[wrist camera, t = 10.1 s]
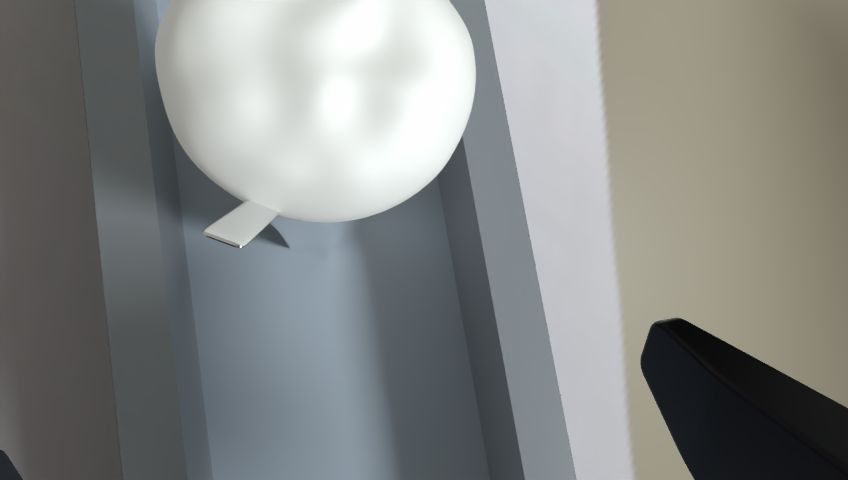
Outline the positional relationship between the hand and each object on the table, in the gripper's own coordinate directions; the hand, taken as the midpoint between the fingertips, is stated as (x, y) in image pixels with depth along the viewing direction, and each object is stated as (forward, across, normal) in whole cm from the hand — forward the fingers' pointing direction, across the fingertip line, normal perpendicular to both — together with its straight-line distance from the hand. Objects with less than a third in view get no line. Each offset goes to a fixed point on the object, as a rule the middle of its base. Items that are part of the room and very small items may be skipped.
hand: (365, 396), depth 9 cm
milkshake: (+9, 0, +2) cm, 9 cm away
